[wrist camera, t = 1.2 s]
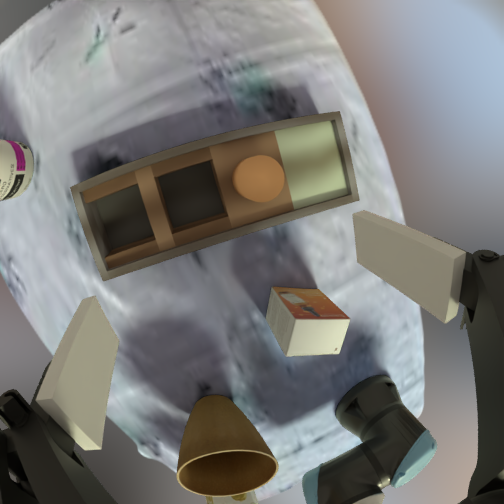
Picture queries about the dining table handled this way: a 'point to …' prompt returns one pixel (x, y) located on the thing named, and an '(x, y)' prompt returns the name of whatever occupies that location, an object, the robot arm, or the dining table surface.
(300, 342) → the small box
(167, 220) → the track
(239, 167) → the brown egg
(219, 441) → the plant pot
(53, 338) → the dining table surface
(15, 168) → the supplement can
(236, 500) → the juice carton
